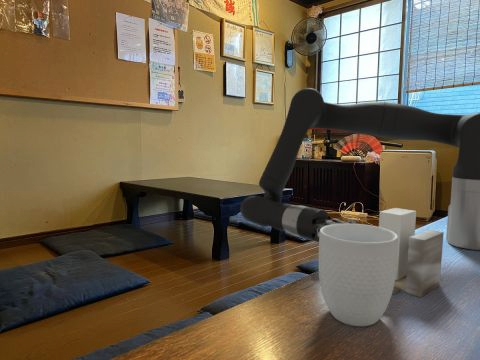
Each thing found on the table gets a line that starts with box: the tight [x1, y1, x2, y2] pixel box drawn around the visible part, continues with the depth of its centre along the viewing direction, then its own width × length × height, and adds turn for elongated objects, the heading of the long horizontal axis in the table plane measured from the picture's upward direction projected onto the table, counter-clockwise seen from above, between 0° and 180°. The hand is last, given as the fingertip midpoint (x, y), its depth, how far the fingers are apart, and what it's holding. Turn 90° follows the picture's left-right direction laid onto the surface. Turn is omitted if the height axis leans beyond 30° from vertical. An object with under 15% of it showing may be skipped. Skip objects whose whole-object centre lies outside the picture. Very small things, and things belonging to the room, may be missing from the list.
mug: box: [317, 223, 398, 327], centre depth 52 cm, size 15×11×13 cm
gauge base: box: [392, 229, 444, 298], centre depth 65 cm, size 14×10×10 cm
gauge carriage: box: [378, 207, 417, 280], centre depth 64 cm, size 4×10×12 cm, turn 129°
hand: (373, 238), depth 69 cm, fingers closed
